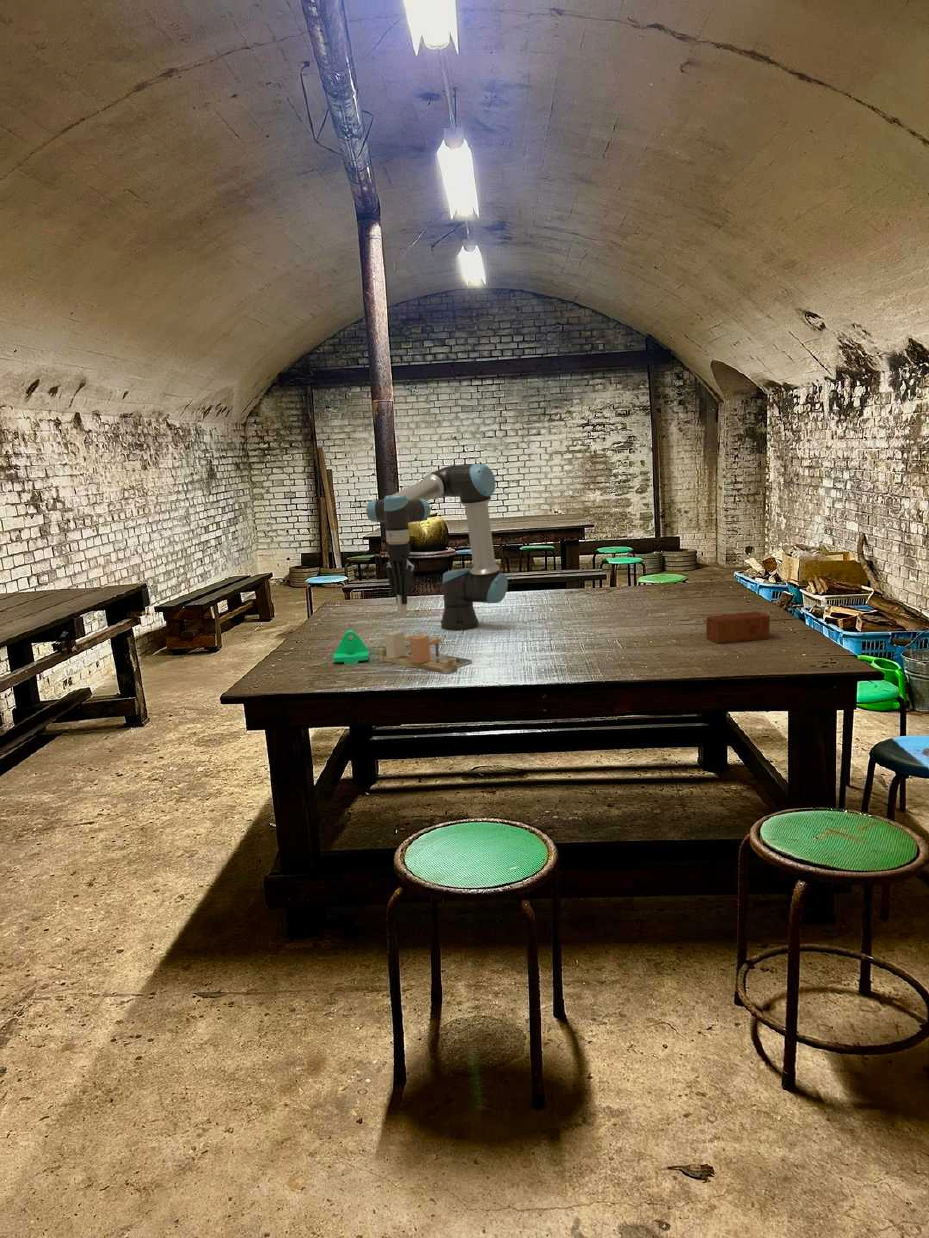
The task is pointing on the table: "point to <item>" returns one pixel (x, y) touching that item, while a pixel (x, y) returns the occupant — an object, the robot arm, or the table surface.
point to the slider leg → (422, 648)
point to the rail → (444, 668)
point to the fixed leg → (396, 643)
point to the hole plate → (441, 658)
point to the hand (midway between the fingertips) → (402, 613)
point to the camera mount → (351, 649)
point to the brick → (738, 627)
